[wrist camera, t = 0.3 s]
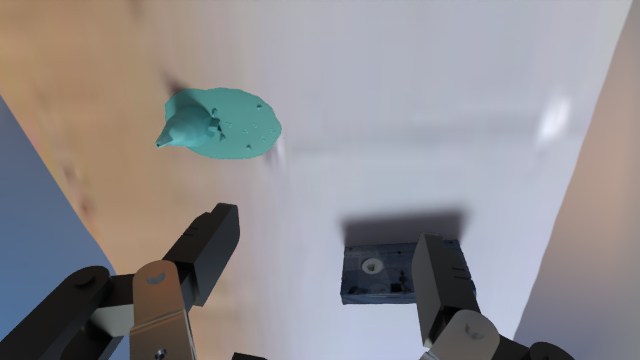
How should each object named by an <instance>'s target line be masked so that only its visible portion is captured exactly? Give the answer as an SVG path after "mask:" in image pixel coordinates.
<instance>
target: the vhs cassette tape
mask: <svg viewBox="0 0 640 360" xmlns="http://www.w3.org/2000/svg"><path fill="white" fill-rule="evenodd" d="M443 242H444V245H445V248H450V249H453V250H454V251H455V252H456V253H457V254H458V255H459V257H460V258H461V259H462V262H463V265H464V267H465V272H466V273H467V276H468V280H469V281H470V284H471V287H472V289H473V292H474V295H475V298H476V288H475V285H474V282H473V280H471V274H470V272H469V268H468V266H467V263H466V261H465V258H464V255H463V252H462V250H461V248H460V244H459V243H458V241H457V240H444V241H443ZM417 243H418V242H416V243H402V244H387V245H372V246H358V247H346V248H345V250H344V262H343V271H342V278H341V279H342V282H341V292H340V295H341V298H342V303H343V305H346V304H411V303H416V298H415V291H414V285H413V278H412V259H413V256H414V253H415V249H416V246H417Z"/></svg>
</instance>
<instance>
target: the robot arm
mask: <svg viewBox="0 0 640 360" xmlns="http://www.w3.org/2000/svg"><path fill="white" fill-rule="evenodd" d="M239 237H240V227H239V216H238V207H237V205H233V204H226V203H218V204H217V205H216V207H215V208H214V209H213V210H212V212H211V213H208V212H205V213H204V214H202V215H200V216H199V217H197V218H196V219H195V220H194V221H193V222H192V223H191V224H190V226H189V228H187V229H186V231H185V232H184V233H183V235H181V237H180V238H179V239H178V240H177V241H176V243H175V244H174V245H173V246H172V248H171V249H170V250H169V251H168V252H167V254H166V255H165V256H164V257H163V258H162V260H158V261H154V262H151V263H148V264H146V265H145V266H143V267H142V268H140V269H139V270H138V271H137V272H136V273H135V274H127V275H117V276H111V275H110V273H109V271H108V269H107V268H105V267H103V266H90V267H86V268H83V269H80V270H78V271H76V272H74V273H72V274H71V275H70V276H68V277H67V278H66V279H65V280H64V281H63V282H62V283H61V284H60V285H59V286H58V287H56V289H55V290H53V291H52V292H51V293H50V294H49V295H48V296H47V297H46V298H45V299H44V300H43V301H42V302H41V303H40V304H39V305H38V306H37V307H36V308H35V309H34V310H33V311H32V312H31V313H30V314H29V315H28V316H27V317H25V318H24V319H23V320H22V321H21V322H20V323H19V324H18V325H17V326H16V327H15V328H14V329H13V330H12V331H11V332H10V333H9V334H8V335H7V336H6V337H5V338H4V339H3V340H2V341H1V342H0V360H108V359H109V358H110V356H111V355H112V353H113V352H114V350H115V349H116V347H117V346H118V344H119V343H120V341H121V340H122V339H123V337H124V336H125V335H129V340H130V341H129V343H130V360H197V355H196V350H195V345H194V340H193V335H192V330H191V325H190V320H189V315H188V312H189V311H190V309H191V307H192V306H193V305H195V306H201V307H203V306H204V304H205V302H206V300H207V298H208V297H209V295H210V293H211V291H212V289H213V288H214V286H215V284H216V282H217V280H218V279H219V277H220V275H221V273H222V271H223V270H224V268H225V266H226V264H227V262H228V261H229V259H230V257H231V255H232V254H233V252H234V250H235V248H236V246H237V244H238V241H239ZM412 278H413V285H414V291H415V298H416V304H417V310H418V317H419V323H420V330H421V336H422V342H423V347H428V348H430V350H429V351H428V352H425V353H424V354H423V355H422V356H421V358H420V359H419V360H575V359H574V358H573V357H572V356H570V355H569V354H568V353H567V352H565V351H564V350H562V349H561V348H559V347H557V346H555V345H553V344H550V343H547V342H537V343H534V344H533V345H532V346H531V347H530V348H528V347H526V346H523V345H521V344H519V343H517V342H514V341H512V340H510V339H508V338H506V337H504V336H502V335H500V334H499V333H498V331H497V329H496V327H495V326H494V324H493V323H492V322H491V321H490V320H489V319H488V318H486V317H485V316H483V315H482V314H481V312H480V309H479V306H478V303H477V301H476V298H475V295H474V292H473V289H472V287H471V284H470V281H469V280H468V276H467V273H466V272H465V267H464V265H463V262H462V259H461V258H460V257H459V255H458V254H457V253H456V252H455V251H454V250H453V249H450V248H445V245H444V242H443V239H442V236H441V235H439V234H432V233H425V232H422V233H421V234H420V236H419V240H418V243H417V246H416V249H415V253H414V256H413V259H412ZM232 360H267V359H265V358H262V357H257V356H252V355H247V354H241V353H236V352H234V355H233V357H232Z"/></svg>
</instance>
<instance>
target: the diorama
mask: <svg viewBox="0 0 640 360" xmlns="http://www.w3.org/2000/svg"><path fill="white" fill-rule="evenodd" d="M165 111H166V114H165V119H166V122H167V123H166V125H165V127H164V129H163V131H162V133H161V135H160V136H159V138H158V139H157V141H156V142H155V144H156V147H157V148H160V147H163V146H165V145H170V146H186V147H187V148H189V149H190V150H192V151H194V152H196V153H198V154H200V155H203V156H206V157H210V158H216V159H248V158H253V157H256V156H260V155H263V154H264V153H265V152H266V151H268V150H269V149H270V148H272V147H273V145H274V144H275V142H276V140H277V139H278V137H279V136H280V134H281V130H282V128H281V124H280V122H279V121H278V120H277V118H276V116H275V114H274V112H273V109H272V107H270V106H269V105H268V104H267V103H265V102H264V101H263V100H262V99H261V98H260V97H257V96H255V95H252V94H250V93H247V92H244V91H242V90H239V89H228V88H215V89H209V90H200V89H184V90H182V91H180V92H178V93H176V94H174V95H173V96H172V97H171V98H170V99H169V100H168V101H167V102H166V104H165ZM283 138H284V137H283Z"/></svg>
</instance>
